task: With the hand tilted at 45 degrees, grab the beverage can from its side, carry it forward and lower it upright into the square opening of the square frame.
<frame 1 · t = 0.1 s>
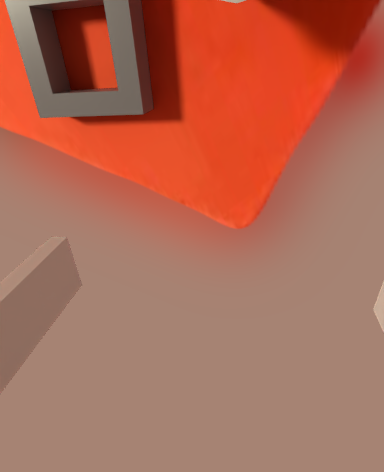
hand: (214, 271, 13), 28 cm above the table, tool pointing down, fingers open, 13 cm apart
square frame: (93, 50, 34), on the table
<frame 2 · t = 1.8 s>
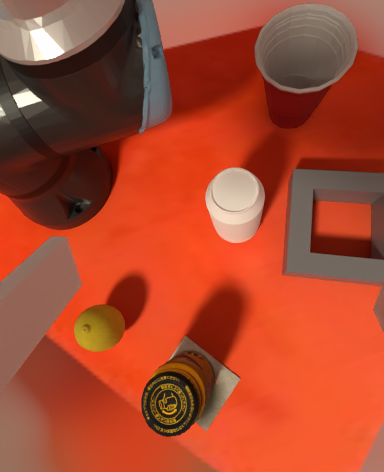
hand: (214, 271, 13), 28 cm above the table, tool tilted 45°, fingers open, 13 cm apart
square frame: (337, 231, 39), on the table
beverage can: (236, 222, 41), on the table
plastic cup: (288, 113, 44), on the table
condiment: (195, 380, 38), on the table
lemon: (115, 325, 41), on the table
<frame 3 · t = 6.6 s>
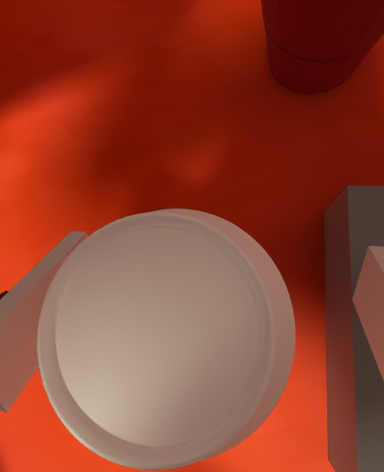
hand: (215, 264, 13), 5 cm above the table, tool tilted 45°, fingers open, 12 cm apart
beverage can: (208, 314, 18), on the table
plastic cup: (310, 63, 20), on the table
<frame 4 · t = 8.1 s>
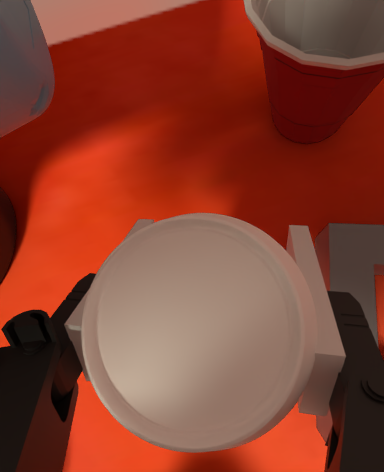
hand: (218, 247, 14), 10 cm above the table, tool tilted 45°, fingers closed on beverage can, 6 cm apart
beverage can: (220, 316, 18), point 5 cm above the table, touching gripper
plastic cup: (306, 118, 26), on the table
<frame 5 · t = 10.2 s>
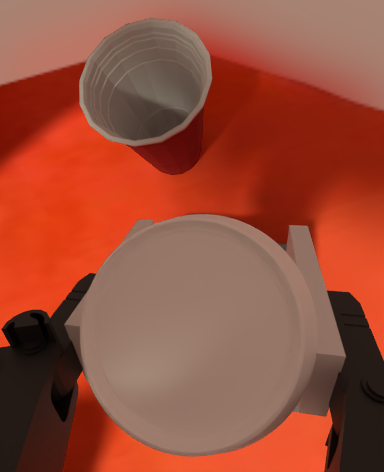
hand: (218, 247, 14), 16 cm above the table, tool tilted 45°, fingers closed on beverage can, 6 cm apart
beverage can: (220, 317, 18), point 11 cm above the table, touching gripper
plastic cup: (175, 155, 34), on the table
when the fingers open (6 cm above the table, at t = 12.8 s): beverage can drops 1 cm, resting in square frame.
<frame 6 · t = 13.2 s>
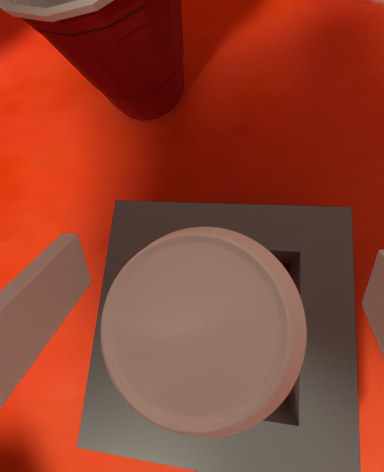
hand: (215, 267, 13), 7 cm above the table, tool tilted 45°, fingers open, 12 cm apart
square frame: (222, 321, 19), on the table
beverage can: (223, 317, 19), resting in square frame
plastic cup: (149, 94, 24), on the table
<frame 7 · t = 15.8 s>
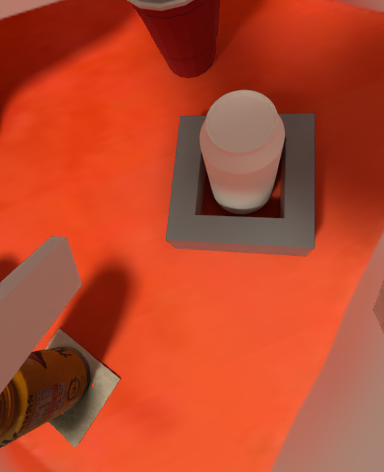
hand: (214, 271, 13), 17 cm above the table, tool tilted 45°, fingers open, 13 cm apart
square frame: (241, 192, 32), on the table
beverage can: (242, 190, 32), resting in square frame
plastic cup: (191, 61, 37), on the table
condiment: (69, 383, 30), on the table
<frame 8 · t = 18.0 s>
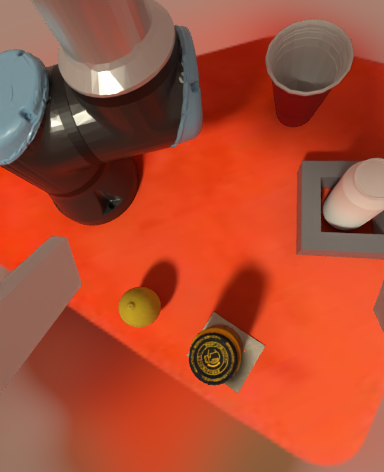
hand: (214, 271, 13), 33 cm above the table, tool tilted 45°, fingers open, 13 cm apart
square frame: (342, 213, 44), on the table
beverage can: (342, 212, 44), resting in square frame
plastic cup: (293, 113, 50), on the table
condiment: (225, 350, 43), on the table
lemon: (149, 307, 46), on the table
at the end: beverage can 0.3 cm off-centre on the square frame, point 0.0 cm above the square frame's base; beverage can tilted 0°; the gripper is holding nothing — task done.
